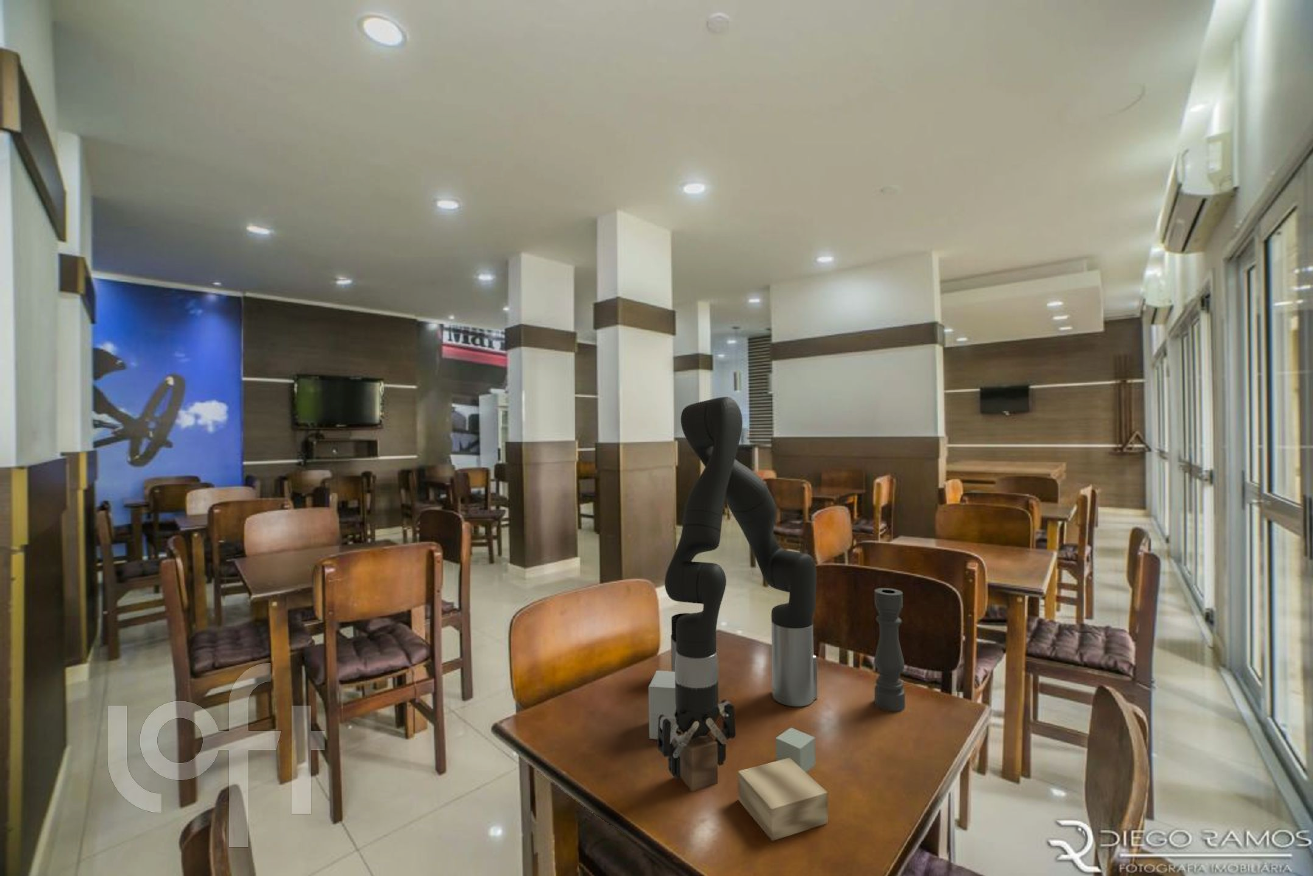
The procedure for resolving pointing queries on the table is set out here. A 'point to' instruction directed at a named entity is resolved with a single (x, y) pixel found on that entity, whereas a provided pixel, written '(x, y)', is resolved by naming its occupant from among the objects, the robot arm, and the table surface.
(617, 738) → the table surface
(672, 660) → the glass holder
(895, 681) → the candle holder
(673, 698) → the small box
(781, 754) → the grey cube
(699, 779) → the walnut block
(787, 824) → the oak block
